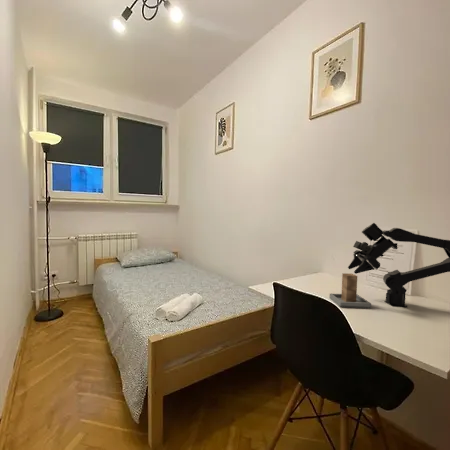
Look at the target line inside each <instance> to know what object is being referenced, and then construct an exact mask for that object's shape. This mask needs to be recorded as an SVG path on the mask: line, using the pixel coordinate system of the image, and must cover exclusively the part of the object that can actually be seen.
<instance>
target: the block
mask: <svg viewBox="0 0 450 450" xmlns="http://www.w3.org/2000/svg"><path fill="white" fill-rule="evenodd" d="M341 276H342V278H341V293H340V294H341V299H342V300H343V301H345V302H356V295H358V292H357V291H358V275H356V274H355V273H346V272H345V273H342V275H341Z"/></svg>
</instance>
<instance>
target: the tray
mask: <svg viewBox="0 0 450 450" xmlns="http://www.w3.org/2000/svg"><path fill="white" fill-rule="evenodd" d="M341 294H342V293H329V299H330V300H331V301H332V302H333V303H334V304H336V305H337V306H338V307H339V308H341V309H342V308H347V309H372V303H371V302H370V301H368V300H367V299H365V298H364V297H362V296H361V295H359V294H357V295H356V302H345V301H343V300H342V299H341Z"/></svg>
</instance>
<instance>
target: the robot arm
mask: <svg viewBox="0 0 450 450" xmlns="http://www.w3.org/2000/svg"><path fill="white" fill-rule="evenodd" d="M361 234H362V235H364V236H365V238H367V239H368V240H369V241H370V242H372V241H373V242H374V243H373V244H369V243H368V242H365V241H363V242H360V241H358V240H356V241H355V242H354V244H353V246H352V247H353V248H355V251H353V255H352V256H353V259H352V260H351V262H350V264H349V265H348V267H347V268H348V270H351V269H354V271H353V274H354V275H356V274H360V273H364V272H368V271H373V270H378V269H380V267H381V263H380V261H378V260H377V259H379V258H380V257H381V258H382V257H384V254H385V253H386V252H387V251H389V250H390V249H391V248H392V249H393V250H398V243H395V242H403V243H417V244H422V245H426V246H432V247H436V248H440V249H443V251H444V252H445V254H446V256H447V257H448V258H446V259H444V260H443V261H440V262H437V263H433V264H430V265H426V266H422V267H418V268H415V269H412V270H407V271H405V272H401V271H400V270H398V269H395V270H392V271H387V273H386V274H384V276H383V279H382V281H383V283H384V284H385V285H386V287H387V288H388V289H387V290H386V293H385V300H384V302H385V303H386V304H387V305H389V306H391V307H396V308H398V307H399V308H400V307H401V308H408V305H407V304H406V294H407V293H406V292H407V289H406V288H405V287H404V286H405V285H407V284H409V283H411V282H414V281H417V280H420V279H424V278H425V279H426V278H430V277H433V276H437V275H440V274H441V275H442V274H445V273H450V240H449V239H443V238H438V237H433V236H427V235H423V234H417V233H414V232H411V231H409V230H406V229H403V228H399V227H393V228H391V229H390V230H382V229H381V228H380V227H379V226H378V225H377V224H376V223H375V222H373V223H371V224H370V225H368V226H366V227H365V228H364V229H363V230H361ZM393 241H395V242H393ZM355 268H356V269H355Z"/></svg>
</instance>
